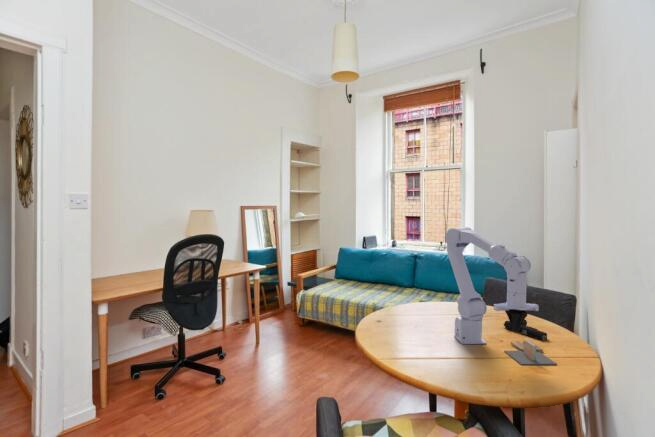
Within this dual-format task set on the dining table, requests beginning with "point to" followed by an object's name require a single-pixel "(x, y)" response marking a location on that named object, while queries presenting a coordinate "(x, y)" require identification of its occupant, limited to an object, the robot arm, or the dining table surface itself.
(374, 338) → the dining table surface
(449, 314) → the dining table surface
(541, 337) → the handgun
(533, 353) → the tile
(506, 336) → the dining table surface
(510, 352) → the mat
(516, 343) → the tile rack
